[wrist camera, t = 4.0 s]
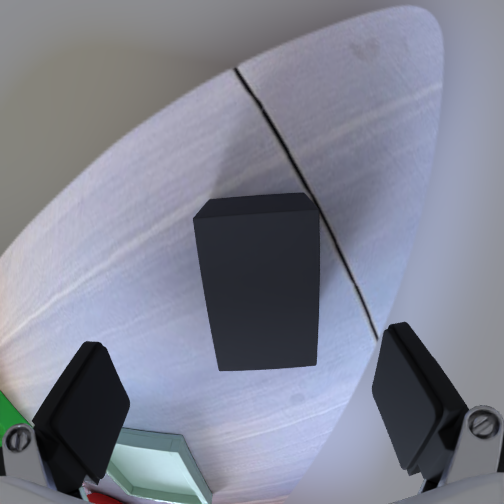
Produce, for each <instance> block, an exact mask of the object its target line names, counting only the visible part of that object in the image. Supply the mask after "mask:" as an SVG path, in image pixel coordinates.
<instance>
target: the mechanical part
mask: <svg viewBox="0 0 504 504" xmlns="http://www.w3.org/2000/svg"><path fill="white" fill-rule="evenodd" d="M18 423H26V424H28V425H30V424H29V423H28V422H27V421H26V420H25V419H24V418H23V417H22V416H21V415H20V413H19V412H18V411H17V410H16V409H15V408H14V407H13V405H12V404H11V403H10V402H9V401H8V400H7V398H6V397H5V396H4V395H3V393H2V392H1V391H0V447H1V446H2V438H3V435H4V433H5V432H6V431H7V429H9V428H10V427H11V426H13V425H15V424H18ZM30 426H31V425H30ZM31 427H32V426H31ZM32 428H33V427H32Z"/></svg>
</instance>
